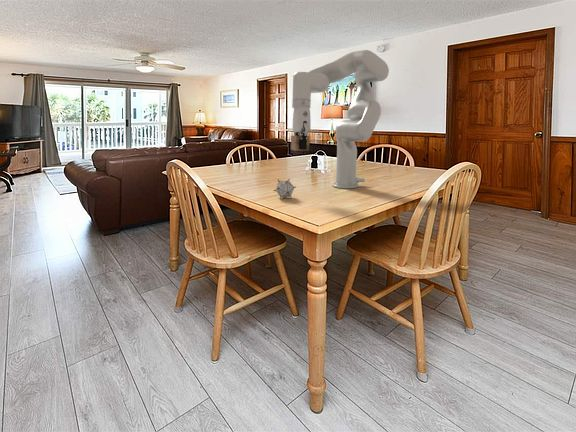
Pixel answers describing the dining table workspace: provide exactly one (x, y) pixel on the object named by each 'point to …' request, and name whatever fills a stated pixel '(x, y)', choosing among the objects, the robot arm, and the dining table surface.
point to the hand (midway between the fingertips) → (299, 148)
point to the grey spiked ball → (284, 188)
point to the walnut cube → (296, 143)
